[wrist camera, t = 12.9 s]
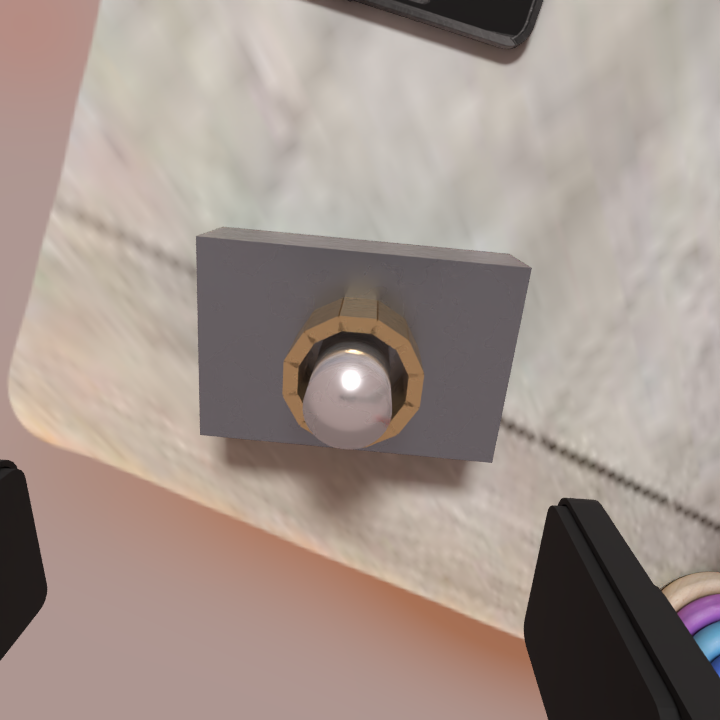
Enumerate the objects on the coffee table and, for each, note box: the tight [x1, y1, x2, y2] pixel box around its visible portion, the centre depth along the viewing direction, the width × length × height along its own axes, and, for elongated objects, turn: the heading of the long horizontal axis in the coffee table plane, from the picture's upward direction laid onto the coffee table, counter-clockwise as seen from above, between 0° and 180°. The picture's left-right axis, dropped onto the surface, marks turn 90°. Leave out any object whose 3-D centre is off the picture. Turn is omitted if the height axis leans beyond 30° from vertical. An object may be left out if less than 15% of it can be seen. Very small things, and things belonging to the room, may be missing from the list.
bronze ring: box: [282, 297, 424, 448], centre depth 28 cm, size 7×7×4 cm
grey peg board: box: [196, 227, 532, 463], centre depth 29 cm, size 18×12×12 cm, turn 85°
